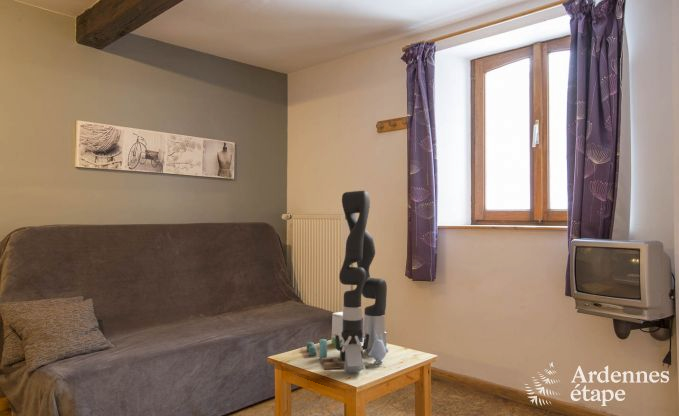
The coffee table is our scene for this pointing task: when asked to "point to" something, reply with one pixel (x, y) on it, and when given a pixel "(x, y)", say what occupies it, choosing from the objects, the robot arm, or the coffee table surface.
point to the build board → (333, 362)
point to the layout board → (310, 351)
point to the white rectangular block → (352, 358)
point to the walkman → (362, 332)
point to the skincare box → (337, 326)
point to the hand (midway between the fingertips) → (351, 360)
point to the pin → (322, 348)
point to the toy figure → (378, 350)
